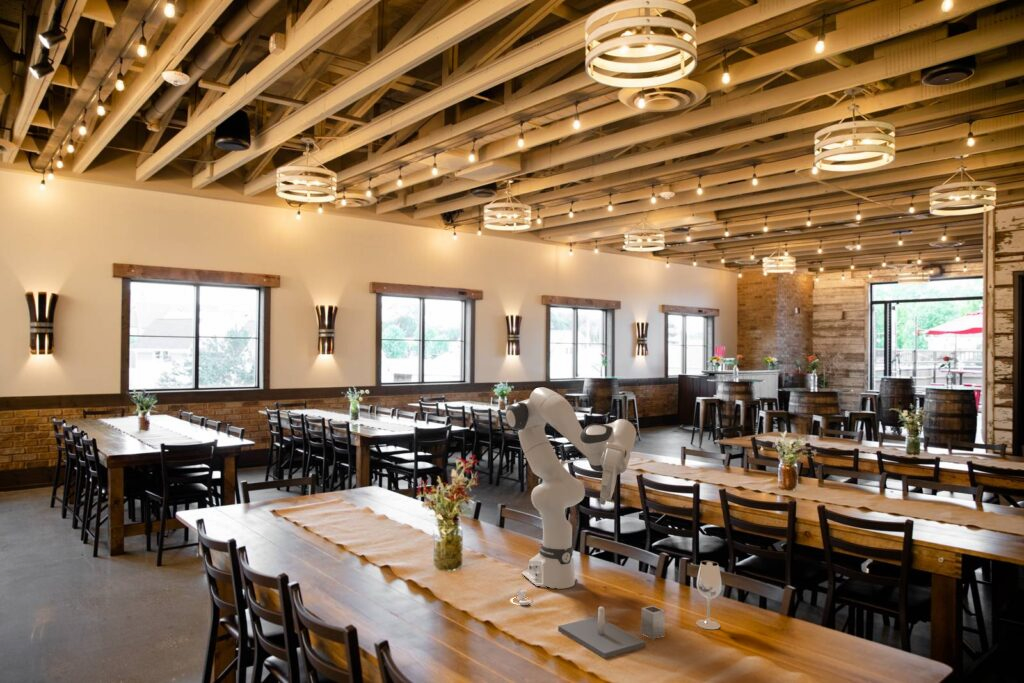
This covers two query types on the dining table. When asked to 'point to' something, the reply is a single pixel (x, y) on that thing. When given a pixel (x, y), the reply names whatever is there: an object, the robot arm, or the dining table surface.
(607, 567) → the dining table surface
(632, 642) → the shaft plate
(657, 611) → the steel sleeve
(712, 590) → the wineglass
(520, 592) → the teacup and saucer
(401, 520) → the dining table surface
